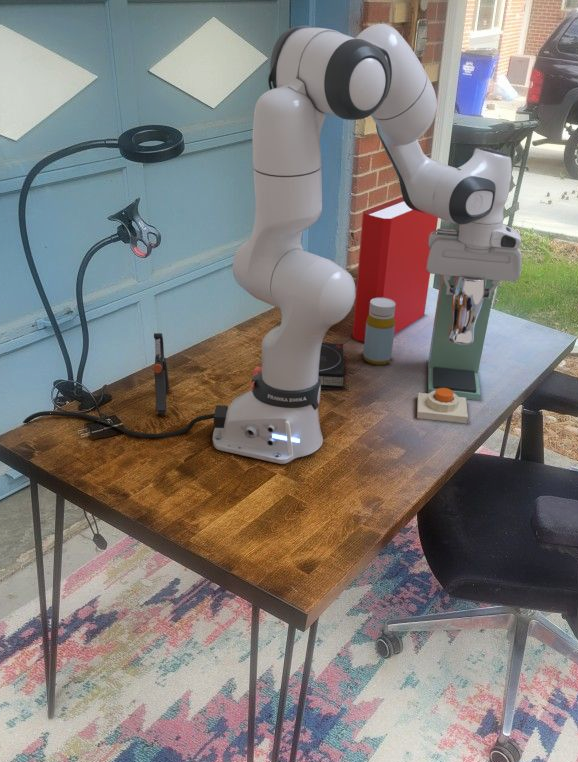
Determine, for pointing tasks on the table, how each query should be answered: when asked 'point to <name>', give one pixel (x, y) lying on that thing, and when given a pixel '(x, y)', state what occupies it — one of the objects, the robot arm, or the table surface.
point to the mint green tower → (456, 349)
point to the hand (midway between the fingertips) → (468, 296)
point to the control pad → (441, 408)
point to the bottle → (379, 331)
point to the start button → (444, 395)
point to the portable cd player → (331, 366)
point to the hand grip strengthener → (160, 375)
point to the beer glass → (465, 308)
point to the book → (393, 263)
